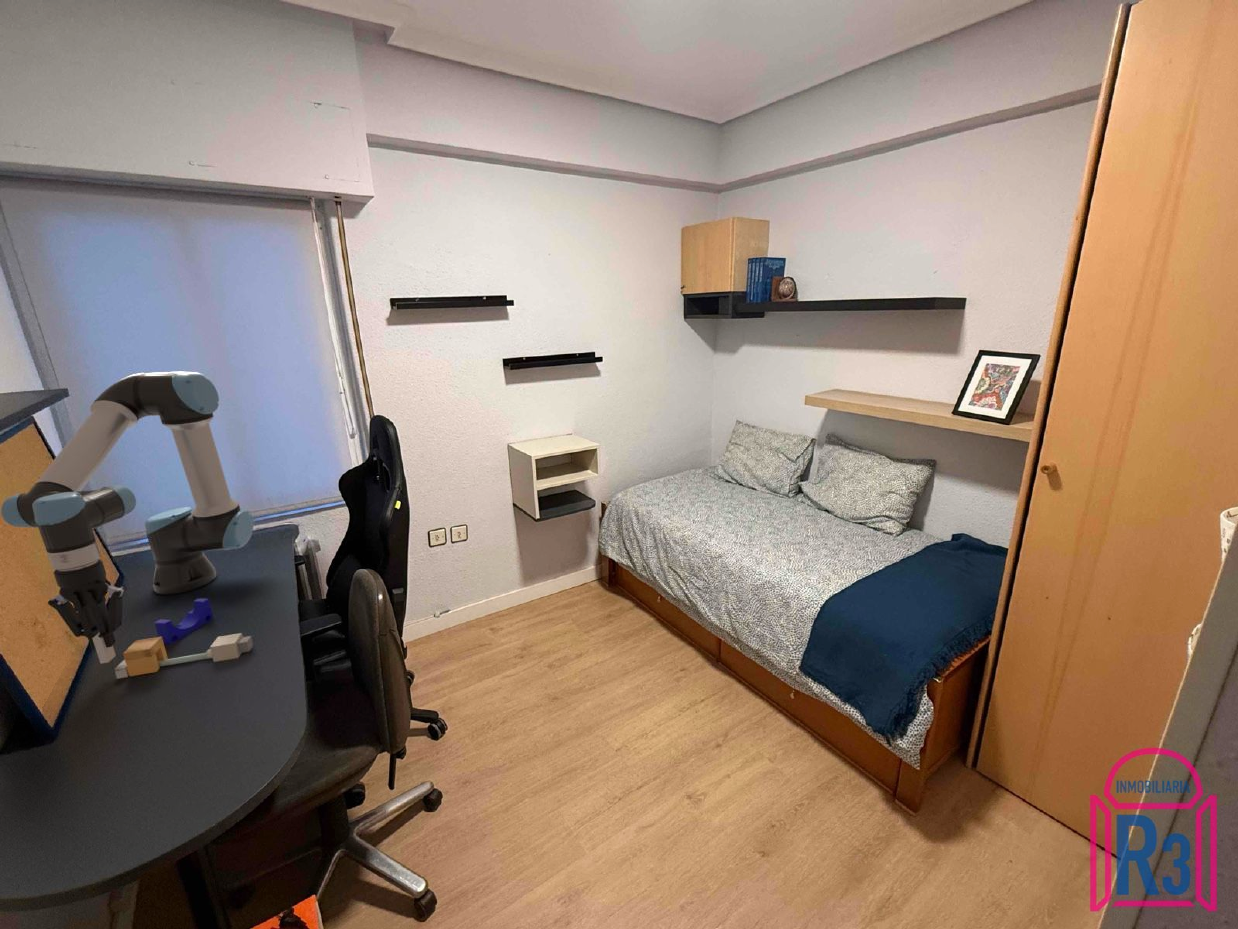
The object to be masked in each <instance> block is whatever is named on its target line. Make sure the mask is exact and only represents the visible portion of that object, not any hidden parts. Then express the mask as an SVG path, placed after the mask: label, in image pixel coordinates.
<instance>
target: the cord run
mask: <svg viewBox="0 0 1238 929" xmlns="http://www.w3.org/2000/svg"><path fill="white" fill-rule="evenodd" d="M253 647H254V644H253V640H252V635H247V636H243V633H242V632H239V633H234V634H228V635H227V634H226V635H221V636H217V637H216V639H215V640H214V641H213V643H211V645H210V647H209V648H208V649H207V650H206V652H203V653H196V654H190V655H185V656H178V657H172V658H168V659H166V660H160V661H158V664H159V668H161V667H166V666H172V665H177V664H178V665H179V664H183V663H184V664H185V663H189V662H196V661H202V660H206V659H207V660H209V659H212V660H213V663H216V662H221V661H227V660H228V661H229V660H233V659H238V658H239V657H240V656H241V654H242V653H246V652H250V651H251V649H252V648H253ZM114 672H115V676H116V679H123V678H124V679H125V678H128V677H130V674H129V671H128V668H127V665H126V662H125V658H124V659H123V660H122V661H121V662H120V663H119V664H118V665H117V666H116V667H115V668H114Z"/></svg>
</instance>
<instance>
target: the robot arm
mask: <svg viewBox="0 0 1238 929" xmlns="http://www.w3.org/2000/svg"><path fill="white" fill-rule="evenodd" d="M218 402H220V397H219V394H218V391H217V388H216V387H215V385H214V383H213V382H212V381H211V380H210V379H209V378H208V377H206V375H204V374H202V373H200V372H195V371H193V372H192V371H182V370H181V371H169V372H168V371H164V372H163V371H162V372H140V373H133V374H130V375H128V376H125V377H123V378H121V379H119V380H118V381H116V382H114V383H113V384H112V385H110V386H109V387H108V388H106V389H105V390H104V391H103V392H102V393H101V394H100V395H99V396H98V397H97V398H96V399H95V400H94V401H93V402H92V403H91V405H90V406H89V409H90V412H91V413H90V414H89V415H88V417H86V420H85V421H84V422H83V423H82V424H81V425H80V427H79V428H78V429H77V430H76V432H74V434H73V435H72V437H71V438H70V439H69V440H68V442H66V444H65V446H64V447H63V448H62V449H61V450H60V452H59V453H58V454H57V455H56V456H55V458H54V459H53V461H52V462H51V463H50V464H49V465H48V467H47V468H46V469H45V470H44V472H43V473H42V474H41V476H40V477H39V478H38V479H37V481H36V482H35V483H34V485H33V486H32V487H31V488H30V489H29V491H28V492H27V493H26V492H25V493H19V494H14V495H11V496H9V497H7V498H6V499H5V500H4V501H3V502H2V504H1V507H0V508H1V509H0V514H1V517H2V519H3V520H4V521H5V522H6V523H7V524H8V525H10V526H12V527H17V528H38V531H39V534H40V536H41V539H42V542H43V545H44V547H45V550H46V554H47V557H48V559H49V562H50V565H51V568H52V569H53V570H54V571H53V575H54V576H53V577H54V578H55V581H56V585H57V586H58V587H59V592H58V594H57V595H56V596H53V598H51V599H49V600H48V601H47V604H48V605H49V606H50V607H51V608H53V609H54V610H56V612H58V614H59V616H60V617H61V618H62V620H63V622H64V623H65V624H66V626H67V627H68V628H69V630H70V631H71V632H72V634H73V635H74V637H76V638H80V637H85V638H87V640H88V642H89V647H90V648H91V650H96V654H97V657H98V659H99V660H98V661H99V663H100V664H106V663H110V662H111V661H112V660H113V659H114V658H115V657H116V656H117V655H116V652H115V648H114V645H116V638H115V634H114V632H115V631H117V629H118V628H120V627H121V626H122V624H123V597H124V594H125V592H126V590H127V588H126V587H125V586H119V587H117V586H114V585H112V583H111V582H110V581H109V580H108V579H107V572H106V568H105V564H104V561H103V560H102V559H101V557H102V555H101V552H100V548H99V546H98V542H97V539H96V536H95V532H94V530H95V529H97V528H99V527H102V526H105V525H106V524H109V523H111V522H113V521H115V520H120V519H122V518H123V517H125V516H126V515H128V514H130V513H132V512H133V510H135V508H136V505H137V498H136V496H135V494H134V492H133V491H132V490H130V489H129V488H128V487H126V486H124V485H119V484H113V485H109V486H103V487H101V488H100V489H95V490H83V489H84V487H86V485H87V484H88V482H89V481H90V479H92V477H93V476H94V475H95V472H96V471H97V470H98V469H99V467H100V465H101V464H102V463H103V461H104V460H105V458H106V457H107V456H108V454H110V452H111V451H112V449H113V448H114V446H115V445H117V443H118V441H119V439H120V438H121V437H122V436H123V434H124V433H125V431H126V430H127V429H128V428H131V427H134V426H135V425H136V424H138V423H137V422H138V421H140V420H141V419H143V418H145V417H149V416H154V417H155V416H158V417H159V419H160V422H161V424H162V425H163V426H165V427H167V428H168V429H170V431H171V433H172V436H173V438H174V442H175V445H176V448H177V451H178V454H179V459H180V461H181V464H182V467H183V470H184V471H183V472H184V474H185V477H186V480H187V482H188V485H189V486H188V487H189V489H190V492H191V495H192V498H193V502H194V505H195V507H193V508H192V507H190V506H184V507H179V508H178V507H177V508H175V509H174V508H173V509H169V510H166V511H163V512H160V513H157V514H155V515H152V516H151V517H149V518H147V519H146V521H145V522H144V527H145V528H144V529H145V535H146V536H147V537H146V538H147V540H148V544H149V548H150V552H151V554H152V556H153V557H152V558H153V560H154V564H155V568H154V575H153V581H152V586H153V590H154V593H156V594H159V595H173V594H174V595H175V594H180V593H186V592H189V591H192V590H195V589H198V588H200V587H204V586H205V585H207V584H209V583H211V582H212V581H214V580H215V579H216V577H217V571H216V568H215V566H214V565H213V564H212V563H211V562H210V560H209V559H208V557H207V556H206V554H205V552H210V551H229V550H233V549H234V550H235V549H240V548H242V547H244V546H246V545H247V543H248V542H249V541H250V539H251V537H252V534H253V531H254V530H253V529H254V519H253V514H252V513H251V512H250V511H249V510H246V509H241V507H240V503H239V501H237V500H235V499H233V498H232V497H231V494H230V491H229V488H228V483H227V480H226V477H225V474H224V470H223V467H222V463H221V460H220V459H221V458H220V457H219V452H218V450H217V446H216V443H215V442H216V441H215V439H214V435H213V432H212V429H211V426H210V423H211V421H212V420H213V419H214V413H215V412H216V411H217V409H218V408H219V403H218ZM107 593H108V598H110V599H109V603H108V605H109V606H108V608H107V604H106V602H107V598H106V596H107Z"/></svg>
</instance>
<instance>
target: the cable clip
mask: <svg viewBox="0 0 1238 929" xmlns="http://www.w3.org/2000/svg"><path fill="white" fill-rule="evenodd" d="M213 619H214V616H213V611H212V608H211V604H210V600H209V598H200V597H198V598H196V599H195V600H193V609H192V610H190V611H188V612H187V614H186V616H185V617H184V618H183V619H182V620H181V621H180V622H179V623H178V624H176V626H177V627H176V626H175V625H174V624H173V623H172V620H171V619H159V620H156V621H155V622H154V626H155V629H156V632H157V637H161V636H162V640H163V643H164V645H166V644H167V645H172V644H174V643H175V642H176V641H179V640H180V639H181V638H182V639H183V637H185V636H186V635H188V634H190V633H191V632H193V631H195V630H196V629H199V627H201V626H203V625H206V623H208V622H210V621H212V620H213Z"/></svg>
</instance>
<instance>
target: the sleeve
mask: <svg viewBox="0 0 1238 929" xmlns="http://www.w3.org/2000/svg"><path fill="white" fill-rule="evenodd" d="M167 654H168V653H167V651H166V648H165V644H164V643H163V640H162V636H161V637H158V636H157V637H155V636H154V637H150V638H149V637H148V638H143V639H137V640H135V641H133V643H131V645H130V646H129V647H128V648H127V649H126V650H124V651H123V652H122V655H123V658H124V659H125V662H126V665H127V668H128V671H129V674H130V675H129V677H135V676H140V675H145V674H151V673H157V672H158V671H159V670H160V667H159V664H158V661H160V660H166V659H169V658H168V655H167Z"/></svg>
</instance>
